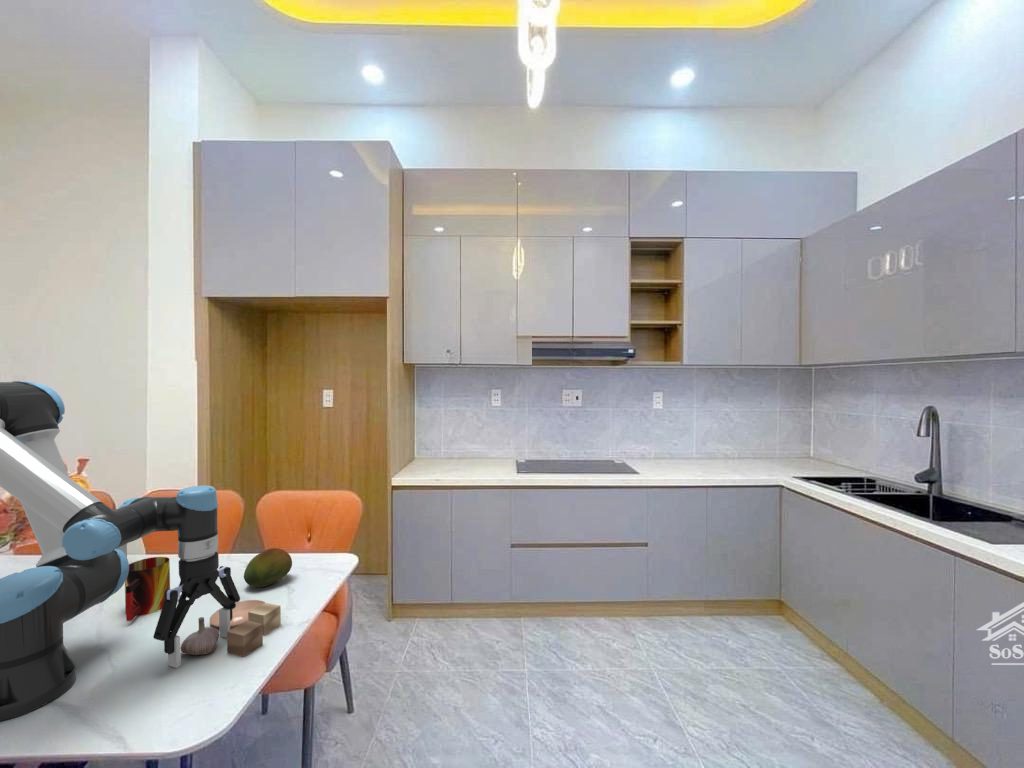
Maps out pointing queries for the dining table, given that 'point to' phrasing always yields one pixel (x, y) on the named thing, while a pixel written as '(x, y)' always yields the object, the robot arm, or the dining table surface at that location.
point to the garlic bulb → (201, 640)
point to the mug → (146, 586)
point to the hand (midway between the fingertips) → (201, 650)
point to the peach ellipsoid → (237, 613)
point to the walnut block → (244, 638)
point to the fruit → (267, 567)
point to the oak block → (266, 616)
